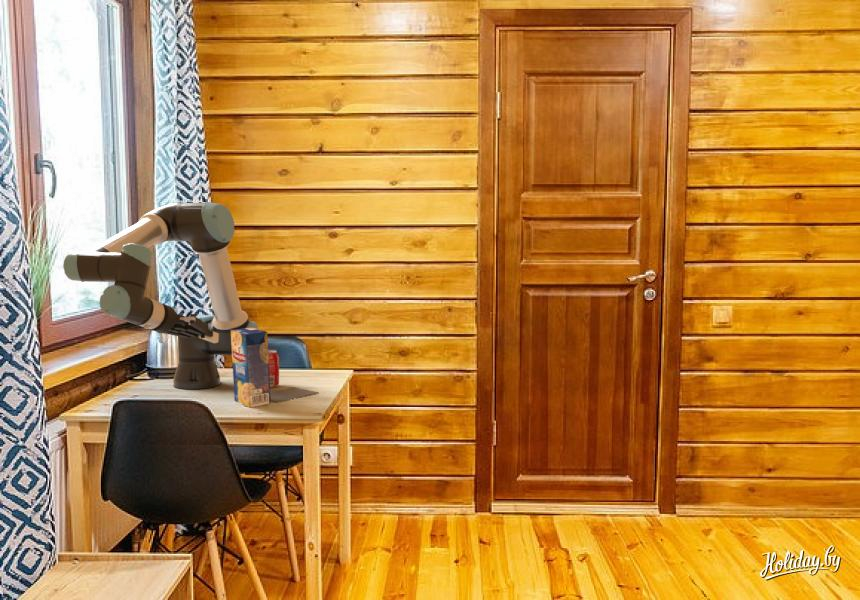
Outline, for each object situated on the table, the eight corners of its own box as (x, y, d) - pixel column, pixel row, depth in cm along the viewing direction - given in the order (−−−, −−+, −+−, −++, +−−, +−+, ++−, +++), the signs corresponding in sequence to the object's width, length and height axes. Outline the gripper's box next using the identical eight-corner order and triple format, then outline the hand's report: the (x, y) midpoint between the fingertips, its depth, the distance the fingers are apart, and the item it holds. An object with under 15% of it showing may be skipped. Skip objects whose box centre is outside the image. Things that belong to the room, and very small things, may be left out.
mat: (251, 396, 234) (251, 396, 234) (293, 388, 248) (293, 387, 248) (276, 402, 227) (276, 401, 227) (318, 393, 241) (318, 392, 241)
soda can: (270, 383, 255) (270, 348, 254) (283, 386, 250) (283, 351, 249) (253, 386, 249) (253, 351, 248) (266, 389, 245) (266, 353, 244)
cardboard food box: (255, 396, 234) (251, 327, 231) (270, 403, 225) (267, 331, 222) (234, 400, 229) (230, 330, 227) (249, 407, 221) (245, 334, 218)
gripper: (135, 334, 196) (198, 355, 216) (173, 324, 191) (234, 346, 211) (137, 308, 199) (199, 330, 219) (175, 297, 194) (234, 321, 214)
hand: (216, 338), depth 215 cm, fingers closed
